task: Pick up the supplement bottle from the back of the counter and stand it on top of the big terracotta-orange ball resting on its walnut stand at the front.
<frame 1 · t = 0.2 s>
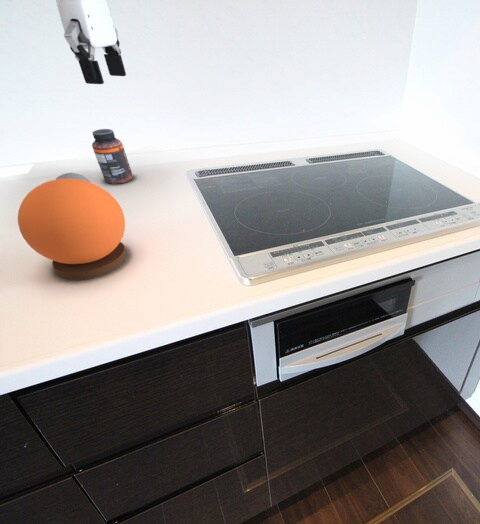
hand: (107, 79, 74), 22 cm above the worktop, tool pointing down, fingers open, 9 cm apart
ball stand: (92, 261, 60), on the worktop
light bulb: (88, 224, 69), on the worktop
supplement bottle: (119, 180, 86), on the worktop
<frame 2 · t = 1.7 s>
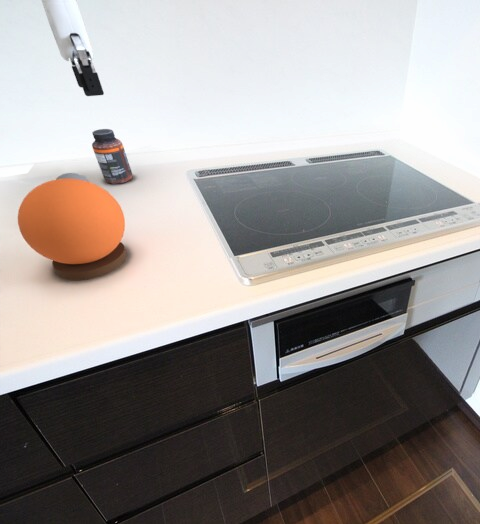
hand: (91, 90, 75), 19 cm above the worktop, tool pointing down, fingers open, 9 cm apart
nothing on the worktop moved.
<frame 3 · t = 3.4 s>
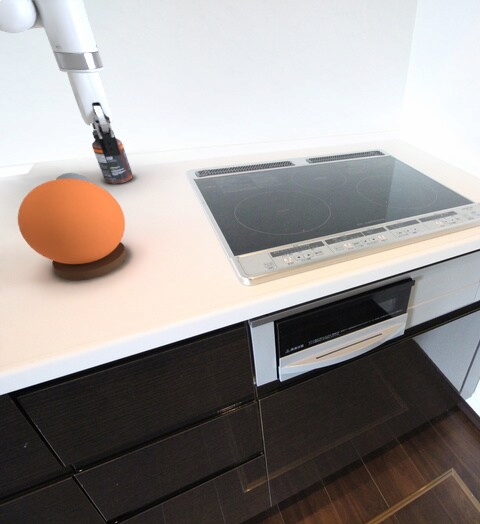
hand: (109, 150, 82), 7 cm above the worktop, tool pointing down, fingers closed on supplement bottle, 6 cm apart
supplement bottle: (119, 180, 86), on the worktop, touching gripper
everything else where it was.
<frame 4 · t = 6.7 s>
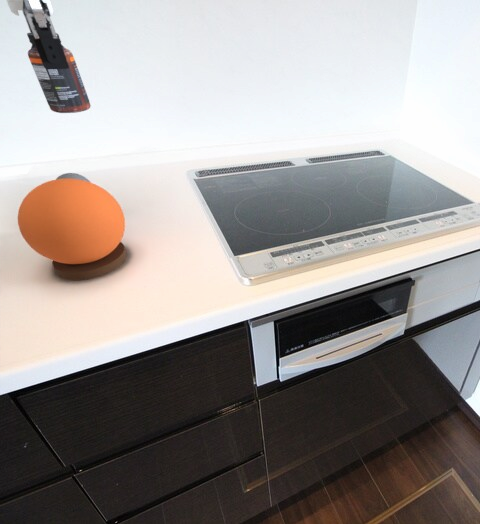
hand: (54, 64, 59), 26 cm above the worktop, tool pointing down, fingers closed on supplement bottle, 6 cm apart
supplement bottle: (72, 111, 63), point 19 cm above the worktop, touching gripper
everything else where it was.
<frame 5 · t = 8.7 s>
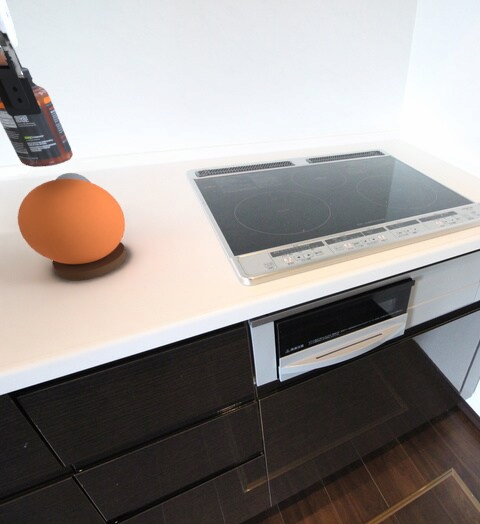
hand: (24, 107, 46), 24 cm above the worktop, tool pointing down, fingers closed on supplement bottle, 6 cm apart
supplement bottle: (49, 162, 50), point 17 cm above the worktop, touching gripper
everything else where it was.
when the fingers open (21 cm above the worktop, at t = 10.0 s): supplement bottle stays where it is, resting on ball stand.
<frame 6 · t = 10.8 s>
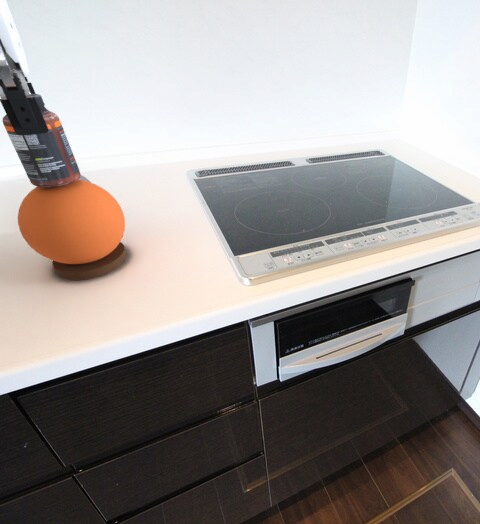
hand: (31, 123, 47), 22 cm above the worktop, tool pointing down, fingers open, 9 cm apart
supplement bottle: (58, 183, 52), point 14 cm above the worktop, touching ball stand
everything else where it was.
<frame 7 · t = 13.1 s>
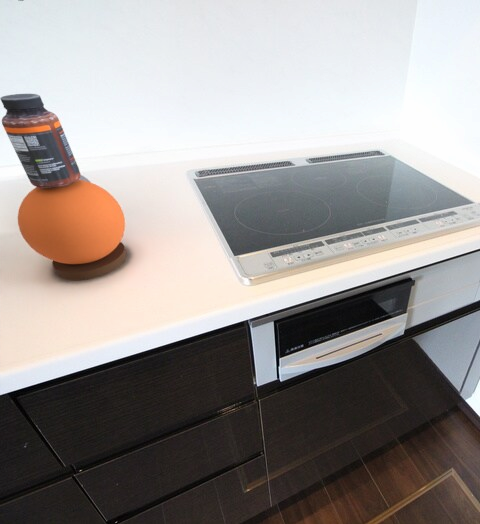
nothing on the worktop moved.
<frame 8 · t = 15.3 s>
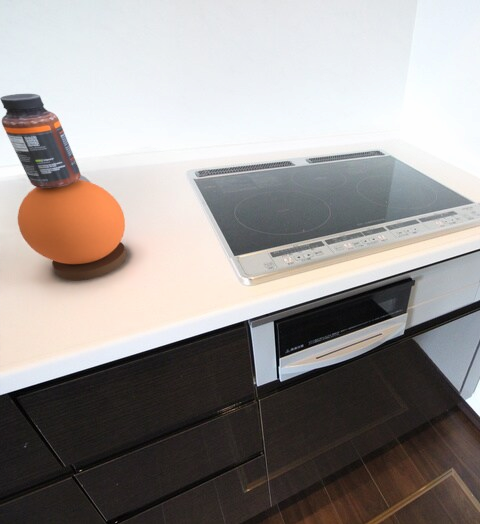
nothing on the worktop moved.
at the end: supplement bottle 0.1 cm off-centre on the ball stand, point 13.8 cm above the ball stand's base; supplement bottle tilted 1°; supplement bottle touching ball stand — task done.
